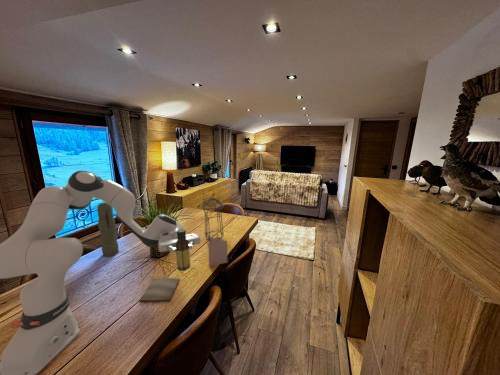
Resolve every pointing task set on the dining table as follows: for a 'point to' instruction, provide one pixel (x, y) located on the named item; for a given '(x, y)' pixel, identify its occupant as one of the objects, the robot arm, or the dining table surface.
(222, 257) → the greeting card
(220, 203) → the geometric lantern
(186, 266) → the sauce bottle
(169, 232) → the robot arm
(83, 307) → the dining table surface
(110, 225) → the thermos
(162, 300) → the walnut board
